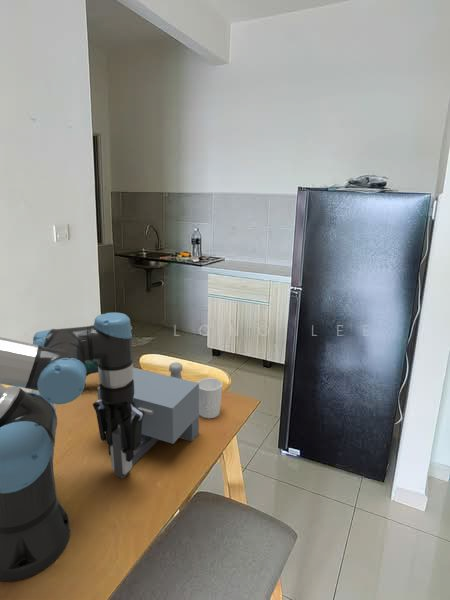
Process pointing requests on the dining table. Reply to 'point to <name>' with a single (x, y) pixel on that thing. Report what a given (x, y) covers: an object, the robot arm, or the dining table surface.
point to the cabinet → (166, 405)
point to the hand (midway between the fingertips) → (122, 468)
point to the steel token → (143, 438)
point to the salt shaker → (175, 370)
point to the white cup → (209, 397)
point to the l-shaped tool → (119, 446)
